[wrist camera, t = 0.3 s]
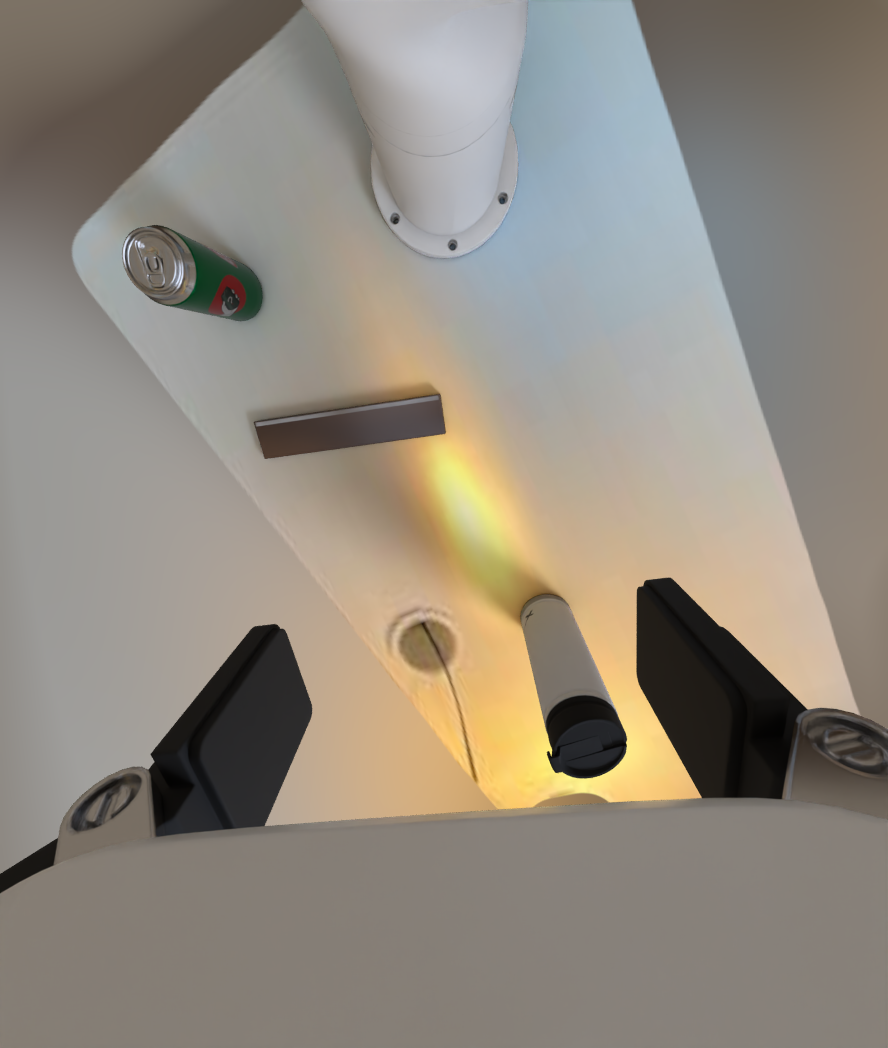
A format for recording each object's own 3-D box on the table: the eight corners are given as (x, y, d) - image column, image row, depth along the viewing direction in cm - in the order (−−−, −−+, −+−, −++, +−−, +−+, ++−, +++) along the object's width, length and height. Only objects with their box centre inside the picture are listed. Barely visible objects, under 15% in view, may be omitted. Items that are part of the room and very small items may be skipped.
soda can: (261, 262, 39) (179, 219, 28) (269, 321, 41) (195, 303, 29) (208, 263, 39) (107, 220, 28) (219, 321, 41) (127, 303, 30)
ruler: (257, 421, 44) (253, 422, 43) (440, 393, 42) (439, 394, 42) (267, 457, 46) (264, 459, 45) (445, 432, 44) (445, 433, 43)
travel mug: (510, 603, 51) (538, 739, 32) (562, 586, 50) (622, 717, 31) (526, 642, 53) (561, 792, 34) (576, 627, 52) (641, 774, 33)
